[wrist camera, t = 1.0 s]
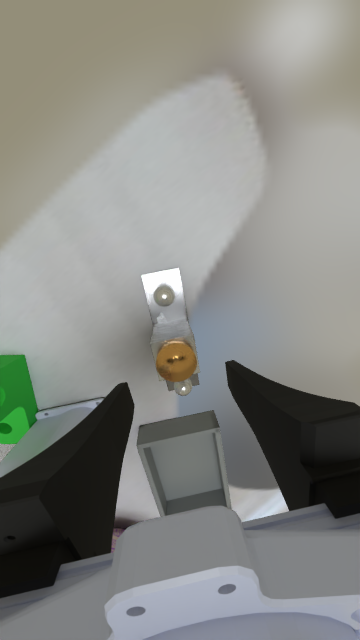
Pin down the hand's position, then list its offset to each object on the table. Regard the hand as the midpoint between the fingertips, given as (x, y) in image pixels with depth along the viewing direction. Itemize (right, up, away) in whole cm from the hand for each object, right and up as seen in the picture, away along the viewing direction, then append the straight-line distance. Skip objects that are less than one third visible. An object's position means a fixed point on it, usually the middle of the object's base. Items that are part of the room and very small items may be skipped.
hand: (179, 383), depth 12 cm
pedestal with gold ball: (-1, +3, +9) cm, 10 cm away
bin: (+1, -19, +16) cm, 24 cm away
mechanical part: (-23, -6, +11) cm, 26 cm away
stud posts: (-1, +3, +10) cm, 10 cm away
